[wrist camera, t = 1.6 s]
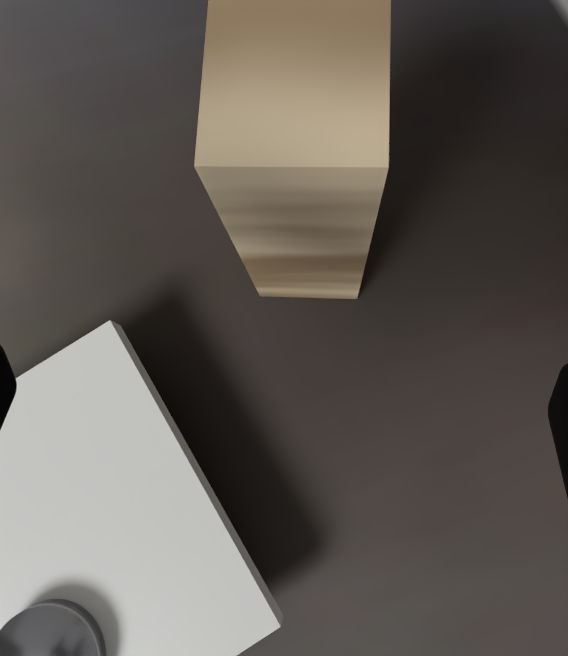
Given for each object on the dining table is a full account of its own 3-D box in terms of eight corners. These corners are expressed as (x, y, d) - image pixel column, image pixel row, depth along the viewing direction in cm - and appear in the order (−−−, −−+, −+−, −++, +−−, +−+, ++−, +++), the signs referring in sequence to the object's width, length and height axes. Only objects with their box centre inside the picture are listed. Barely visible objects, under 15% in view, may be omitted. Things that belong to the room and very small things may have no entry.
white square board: (286, 600, 19) (280, 626, 17) (55, 750, 19) (12, 800, 16) (135, 332, 22) (109, 320, 19) (-73, 461, 21) (-127, 466, 19)
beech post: (357, 298, 21) (388, 167, 10) (260, 296, 22) (194, 166, 11) (359, 206, 22) (390, -4, 11) (265, 205, 22) (208, -1, 12)
